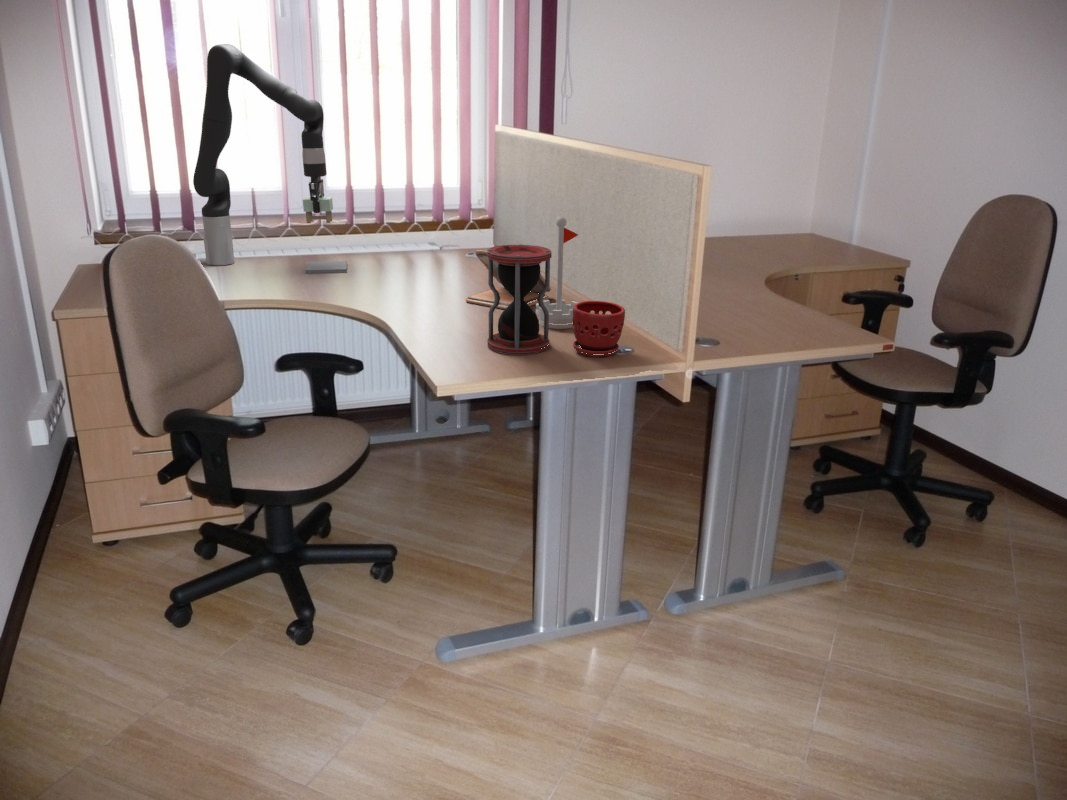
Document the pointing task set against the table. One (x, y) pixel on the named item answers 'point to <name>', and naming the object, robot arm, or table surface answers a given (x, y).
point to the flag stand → (559, 286)
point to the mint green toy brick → (325, 206)
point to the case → (503, 289)
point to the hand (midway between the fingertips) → (318, 211)
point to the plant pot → (597, 327)
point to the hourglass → (518, 299)
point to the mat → (326, 267)
